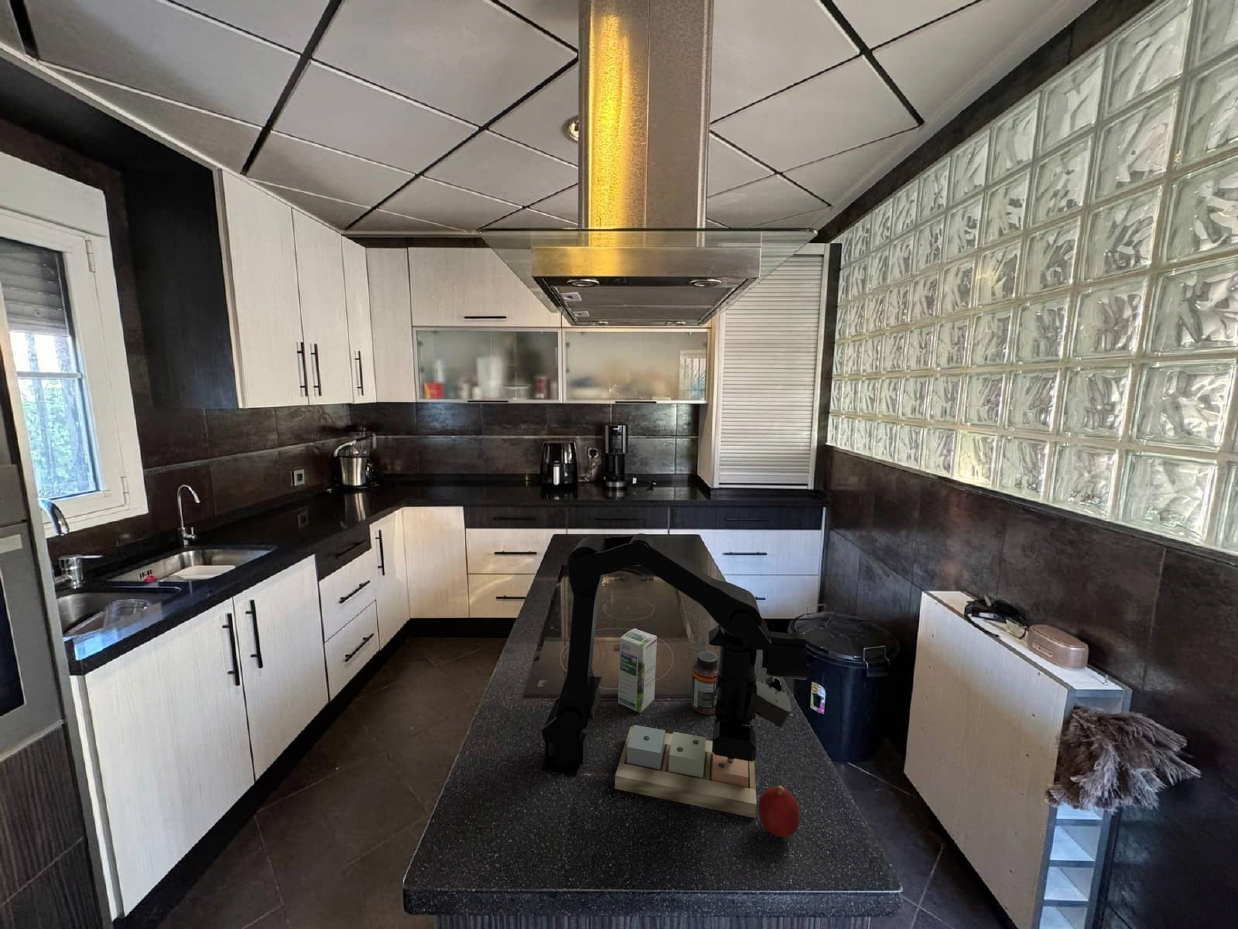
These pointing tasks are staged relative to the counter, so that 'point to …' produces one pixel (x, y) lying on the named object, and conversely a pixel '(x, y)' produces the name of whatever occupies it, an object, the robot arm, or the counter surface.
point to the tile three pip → (730, 771)
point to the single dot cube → (646, 747)
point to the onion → (779, 811)
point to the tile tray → (687, 783)
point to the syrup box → (637, 669)
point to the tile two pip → (687, 754)
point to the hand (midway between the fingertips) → (730, 757)
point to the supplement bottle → (704, 683)
